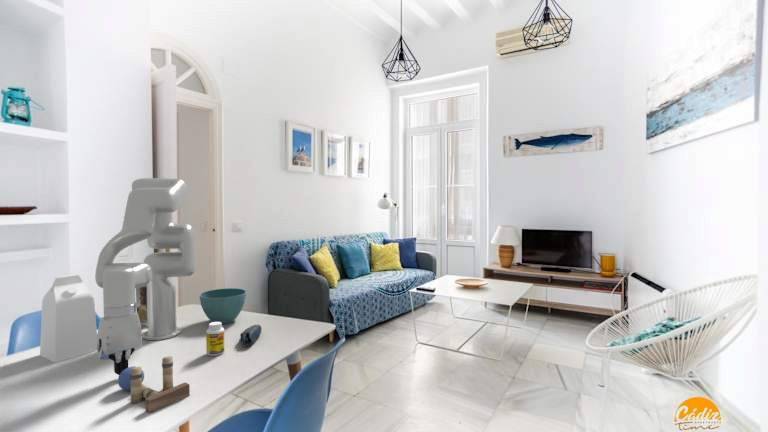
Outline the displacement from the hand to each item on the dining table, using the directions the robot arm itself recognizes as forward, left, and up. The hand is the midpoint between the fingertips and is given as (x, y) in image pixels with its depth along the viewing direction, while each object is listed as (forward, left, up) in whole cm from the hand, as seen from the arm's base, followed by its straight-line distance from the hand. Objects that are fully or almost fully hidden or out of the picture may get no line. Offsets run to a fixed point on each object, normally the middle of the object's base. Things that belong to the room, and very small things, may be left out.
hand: (121, 373), depth 111 cm
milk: (-36, 0, -2) cm, 36 cm away
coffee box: (-45, +31, -2) cm, 55 cm away
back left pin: (+17, +4, -2) cm, 18 cm away
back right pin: (+17, -4, -2) cm, 18 cm away
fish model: (+4, +42, -2) cm, 42 cm away
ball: (+9, -1, +2) cm, 9 cm away
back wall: (+24, 0, -2) cm, 25 cm away
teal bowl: (-22, +49, -2) cm, 54 cm away
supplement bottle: (+6, +26, -2) cm, 27 cm away
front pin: (+13, -1, 0) cm, 13 cm away
